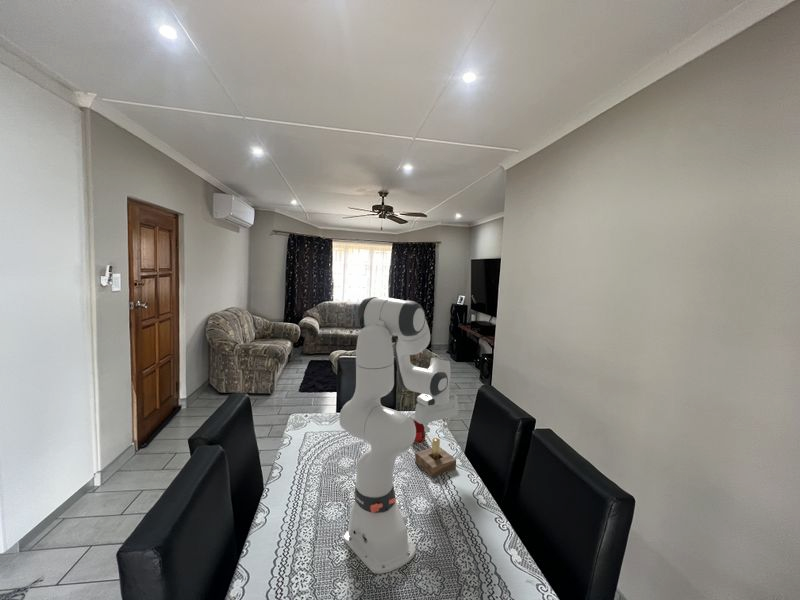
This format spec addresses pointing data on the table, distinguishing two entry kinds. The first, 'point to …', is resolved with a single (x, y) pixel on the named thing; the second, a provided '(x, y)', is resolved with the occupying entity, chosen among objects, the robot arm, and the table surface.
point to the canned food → (418, 430)
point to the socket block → (435, 462)
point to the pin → (435, 448)
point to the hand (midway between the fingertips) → (436, 429)
